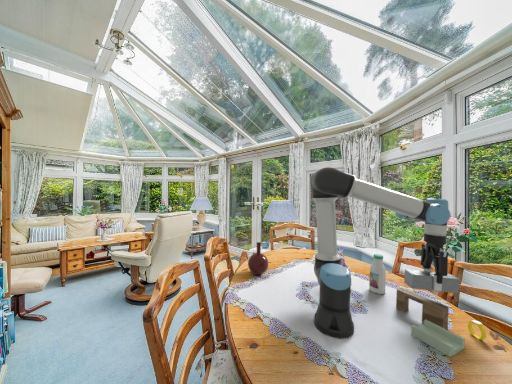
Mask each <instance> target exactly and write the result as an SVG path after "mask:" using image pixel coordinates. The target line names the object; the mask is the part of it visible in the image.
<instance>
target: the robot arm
mask: <svg viewBox="0 0 512 384" xmlns="http://www.w3.org/2000/svg"><path fill="white" fill-rule="evenodd" d="M309 184H310V188H311V197H312V198H311V199H312V200H313V201H314V202H315V211H316V212H315V213H316V214H315V215H316V217H315V218H316V235H317V237H316V239H317V253H315V254H314V267H313V269H314V270H313V271H314V272H313V273H314V275H315V277H316V280H317V282H318V285H319V297H318V299H319V301H318V302H319V303H318V305H317V306H318V307H317V308H316V312H315V313H314V317H313V318H314V319H313V322H314V326H315V327H316V329H317V330H318V331H319V332H321V333H322V334H324V335H326V336H329V337H331V338H335V339H347V338H348V339H349V338H350V337H352V336H353V335H354V333H355V322H354V321H353V318H352V317H353V316H352V313H351V291H352V290H351V289H352V288H351V287H352V274H351V272H350V270H349V269H348V268H347V267H346V266H343V265H342V257H341V255H340V254H339V253H338V242H337V219H336V216H337V215H336V201H337V200H338V199H339V197H341V198H344V199H347V198H352V199H354V200H359V201H360V202H365V203H366V204H370V205H373V206H376V207H380V208H383V209H384V210H385V209H386V210H389V211H392V212H394V215H395V216H396V218H399V219H403V220H407V219H408V220H413V221H419V222H421V223H422V222H423V223H424V228H423V229H424V231H423V232H424V234H423V241H424V243H422V244H421V255H420V266H422V268H423V271H427V272H433V270H432V269H433V268H432V264H433V266H434V272H435V273H436V274H434V282H433V290H436V291H435V292H441V290H442V279H443V276H447V273H448V262H449V261H448V260H449V259H448V258H449V254H450V252H448V251H445V250H444V245H446V244H447V236H446V235H447V234H448V233H447V232H448V231H447V230H448V222H449V220H450V219H451V211H450V209H449V201H448V199H446V198H428V197H427V198H426V200H423V199H420V198H417V197H413V196H410V195H407V194H404V193H401V192H399V191H395V190H391V189H389V188H385V187H383V186H379V185H377V184H374V183H370V182H367V181H365V180H360V179H358V178H356V176H355V175H354V174H351V173H347V172H345V171H342V170H340V169H336V168H335V167H330V166H328V167H327V166H326V167H323V168H321V169H319V170H316V172H314V173H313V174H312V176H311V178H310V183H309Z"/></svg>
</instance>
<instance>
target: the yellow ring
mask: <svg viewBox="0 0 512 384" xmlns="http://www.w3.org/2000/svg"><path fill="white" fill-rule="evenodd" d="M473 325H475V326H477V327H478V328H479V330H480V333H481V336H480V337H479V335H477V334H476V333H475V332H474V329H473ZM467 329H468V332H469V333H470V335H471V336H473V337H474V338H476V339H477V340H478V341H484V340H486V338H487V332H486V329H485V327H484V326H483V323H482V322H481V321H479V320H475V319H472V320H470V321H469V322H468V323H467Z"/></svg>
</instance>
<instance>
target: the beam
mask: <svg viewBox="0 0 512 384" xmlns="http://www.w3.org/2000/svg"><path fill="white" fill-rule="evenodd" d="M410 300H411V301H413V302H417V303H418V304H421V305H422V307H421V309H422V310H421V311H422V312H421V322H422V323H424V320H428V321H430V322H432V323H434V324H436V325H438V326H440V327H442V328H444V329H446V330H448V328H449V306H447V305H445V304H443V303H440V302H439V301H435V300H432V299H429V298H428V297H426V296H423V295H420V294H418V293H416V292H413V291H411V290H409V289H405V288H403V287H400V288H396V301H395V309H398V310H399V311H401V312H408V311H409V309H410V308H409V305H410Z"/></svg>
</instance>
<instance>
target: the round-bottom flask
mask: <svg viewBox="0 0 512 384" xmlns="http://www.w3.org/2000/svg"><path fill="white" fill-rule="evenodd" d="M261 249H262V242H259V241H258V242H256V252H255V253H252V255H250V256H249V258H248V262H247V266H248V269H249V271H250V272H251V273H252V274H255V275H262V274H264V273H266V271H267V270H268V268H269V259H268V258H267V256H266V255H265V254H263V253H261V251H262V250H261Z"/></svg>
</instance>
